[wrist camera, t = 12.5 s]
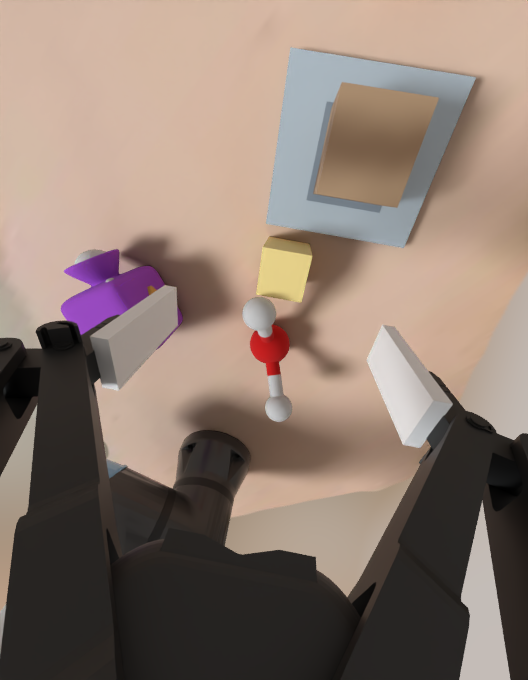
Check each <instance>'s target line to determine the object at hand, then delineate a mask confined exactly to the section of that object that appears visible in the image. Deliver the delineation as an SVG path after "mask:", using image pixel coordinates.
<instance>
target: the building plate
mask: <svg viewBox="0 0 528 680" xmlns="http://www.w3.org/2000/svg"><path fill="white" fill-rule="evenodd" d="M475 79H476V77H471V76H465V75H458V74H452V73H446V72H440V71H434V70H427V69H421V68H415V67H409V66H402V65H396V64H390V63H384V62H378V61H371V60H365V59H359V58H353V57H346V56H340V55H334V54H328V53H322V52H315V51H309V50H303V49H297V48H290V55H289V62H288V69H287V77H286V84H285V91H284V98H283V105H282V113H281V120H280V127H279V134H278V142H277V149H276V156H275V163H274V170H273V178H272V185H271V192H270V199H269V206H268V214H267V221H266V224H271V225H276V226H282V227H288V228H293V229H299V230H305V231H310V232H316V233H322V234H327V235H333V236H339V237H344V238H350V239H355V240H361V241H367V242H372V243H378V244H384V245H389V246H395V247H401V248H404V246H405V244H406V241H407V239H408V237H409V234H410V232H411V230H412V227H413V225H414V223H415V220H416V218H417V215H418V213H419V211H420V208H421V206H422V204H423V201H424V199H425V197H426V194H427V192H428V190H429V187H430V185H431V182H432V180H433V178H434V175H435V173H436V171H437V168H438V166H439V164H440V161H441V159H442V157H443V154H444V152H445V149H446V147H447V145H448V142H449V140H450V138H451V135H452V133H453V131H454V128H455V126H456V124H457V121H458V119H459V116H460V114H461V112H462V109H463V107H464V105H465V102H466V100H467V98H468V95H469V93H470V91H471V88H472V86H473V83H474V81H475ZM342 82H346V83H352V84H358V85H364V86H370V87H377V88H383V89H389V90H395V91H401V92H407V93H414V94H420V95H426V96H432V97H438V98H439V100H438V102H437V105H436V108H435V110H434V113H433V115H432V118H431V121H430V123H429V126H428V129H427V131H426V134H425V137H424V139H423V142H422V144H421V147H420V150H419V152H418V155H417V158H416V160H415V163H414V165H413V168H412V171H411V173H410V176H409V179H408V181H407V184H406V187H405V189H404V192H403V194H402V197H401V200H400V202H399V205H398V208H395V207H388V206H381V205H374V204H369V203H363V202H357V201H351V200H345V199H340V198H334V197H328V196H322V195H317V194H313V192H314V187H315V182H316V178H317V173H318V168H319V164H320V159H321V155H322V150H323V145H324V141H325V136H326V131H327V127H328V122H329V118H330V113H331V108H332V105H333V103H334V100H335V98H336V95H337V93H338V90H339V88H340V85H341V83H342Z"/></svg>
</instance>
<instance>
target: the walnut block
mask: <svg viewBox="0 0 528 680" xmlns="http://www.w3.org/2000/svg"><path fill="white" fill-rule="evenodd" d="M438 100H439V98H438V97H432V96H426V95H420V94H414V93H407V92H401V91H395V90H389V89H383V88H377V87H370V86H364V85H358V84H352V83H346V82H342V83H341V85H340V88H339V90H338V93H337V95H336V98H335V100H334V103H333V105H332V108H331V113H330V118H329V122H328V127H327V131H326V136H325V141H324V145H323V150H322V155H321V159H320V164H319V168H318V173H317V178H316V182H315V187H314V192H313V194H317V195H322V196H328V197H334V198H340V199H345V200H351V201H357V202H363V203H369V204H374V205H381V206H388V207H395V208H398V205H399V202H400V200H401V197H402V194H403V192H404V189H405V187H406V184H407V181H408V179H409V176H410V173H411V171H412V168H413V165H414V163H415V160H416V158H417V155H418V152H419V150H420V147H421V144H422V142H423V139H424V137H425V134H426V131H427V129H428V126H429V123H430V121H431V118H432V115H433V113H434V110H435V108H436V105H437V102H438Z"/></svg>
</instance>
